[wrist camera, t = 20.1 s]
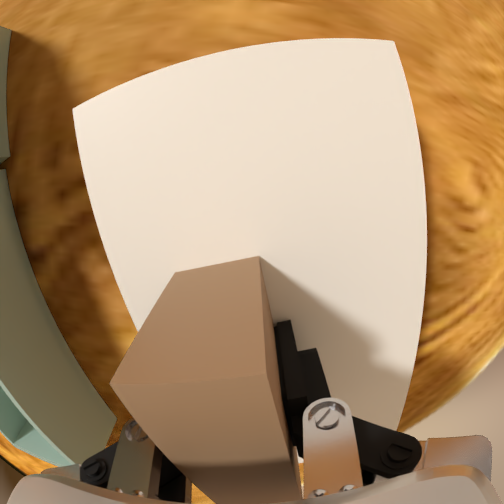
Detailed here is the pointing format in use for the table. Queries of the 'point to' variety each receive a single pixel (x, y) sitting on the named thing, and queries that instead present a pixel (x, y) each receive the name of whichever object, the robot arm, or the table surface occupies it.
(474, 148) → the table surface
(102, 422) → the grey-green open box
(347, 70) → the lid
